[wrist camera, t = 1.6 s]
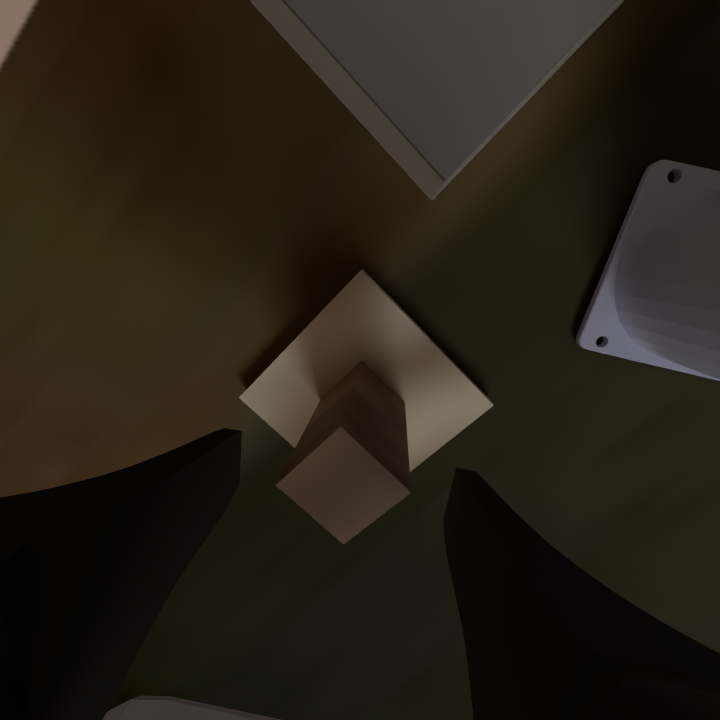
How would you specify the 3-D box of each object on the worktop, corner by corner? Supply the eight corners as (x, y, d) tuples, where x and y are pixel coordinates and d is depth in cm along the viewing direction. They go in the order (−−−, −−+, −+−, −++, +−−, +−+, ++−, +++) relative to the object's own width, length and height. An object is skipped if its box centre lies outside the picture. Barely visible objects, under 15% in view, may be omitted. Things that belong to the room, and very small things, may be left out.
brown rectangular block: (405, 402, 18) (411, 492, 11) (362, 439, 18) (343, 544, 12) (361, 360, 17) (340, 426, 10) (320, 400, 18) (275, 485, 11)
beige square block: (488, 397, 18) (493, 405, 17) (364, 497, 20) (362, 509, 20) (363, 268, 17) (361, 269, 16) (246, 390, 19) (238, 397, 18)
